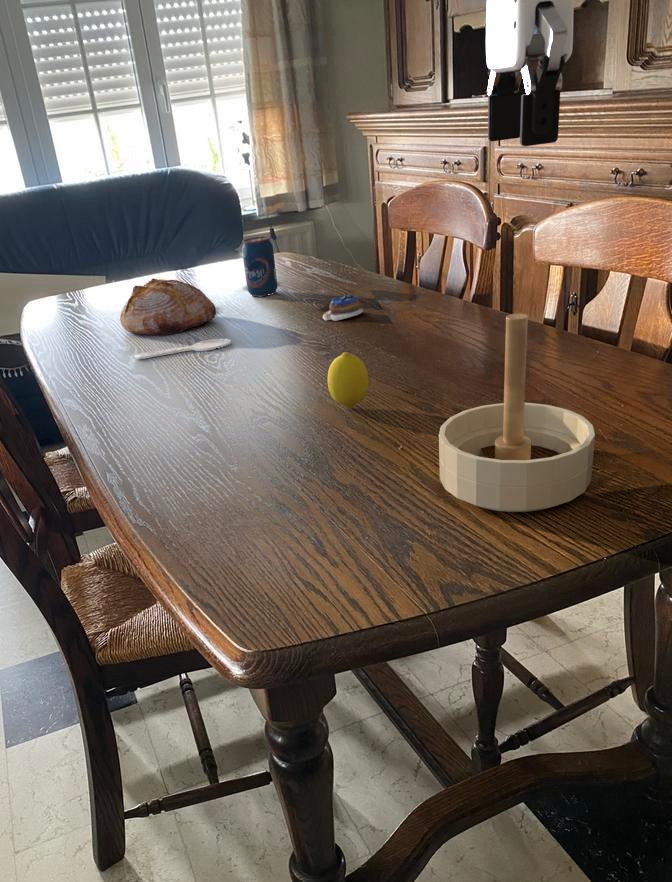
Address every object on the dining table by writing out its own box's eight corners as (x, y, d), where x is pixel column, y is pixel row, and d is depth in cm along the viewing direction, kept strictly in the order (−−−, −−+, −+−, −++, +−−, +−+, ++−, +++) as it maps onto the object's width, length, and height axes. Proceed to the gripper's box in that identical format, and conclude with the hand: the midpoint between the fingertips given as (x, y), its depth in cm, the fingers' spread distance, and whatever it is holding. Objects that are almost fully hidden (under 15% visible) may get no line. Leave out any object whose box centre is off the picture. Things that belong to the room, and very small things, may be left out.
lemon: (343, 399, 107) (338, 344, 103) (377, 403, 104) (374, 347, 100) (322, 413, 103) (317, 357, 99) (357, 418, 100) (352, 360, 96)
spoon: (134, 354, 139) (133, 351, 139) (229, 338, 141) (229, 335, 141) (134, 362, 134) (133, 359, 134) (232, 346, 136) (232, 343, 136)
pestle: (523, 466, 81) (529, 309, 73) (534, 480, 78) (542, 318, 70) (490, 470, 81) (492, 314, 73) (500, 485, 78) (504, 323, 70)
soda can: (245, 298, 169) (238, 243, 163) (251, 291, 174) (243, 237, 169) (276, 296, 167) (269, 240, 162) (280, 288, 173) (273, 234, 168)
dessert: (364, 304, 149) (359, 284, 144) (365, 331, 146) (360, 311, 141) (325, 310, 151) (319, 290, 145) (325, 337, 148) (319, 317, 143)
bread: (123, 329, 161) (112, 281, 157) (213, 313, 164) (204, 266, 160) (123, 344, 147) (111, 292, 142) (222, 326, 149) (213, 275, 145)
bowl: (557, 444, 86) (560, 395, 83) (615, 506, 73) (621, 450, 70) (426, 461, 86) (425, 413, 84) (460, 526, 73) (460, 471, 70)
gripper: (618, -120, 54) (598, 140, 63) (536, -72, 70) (528, 133, 78) (516, -106, 54) (510, 152, 63) (456, -61, 70) (457, 142, 78)
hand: (520, 141), depth 70 cm, fingers open, 9 cm apart
